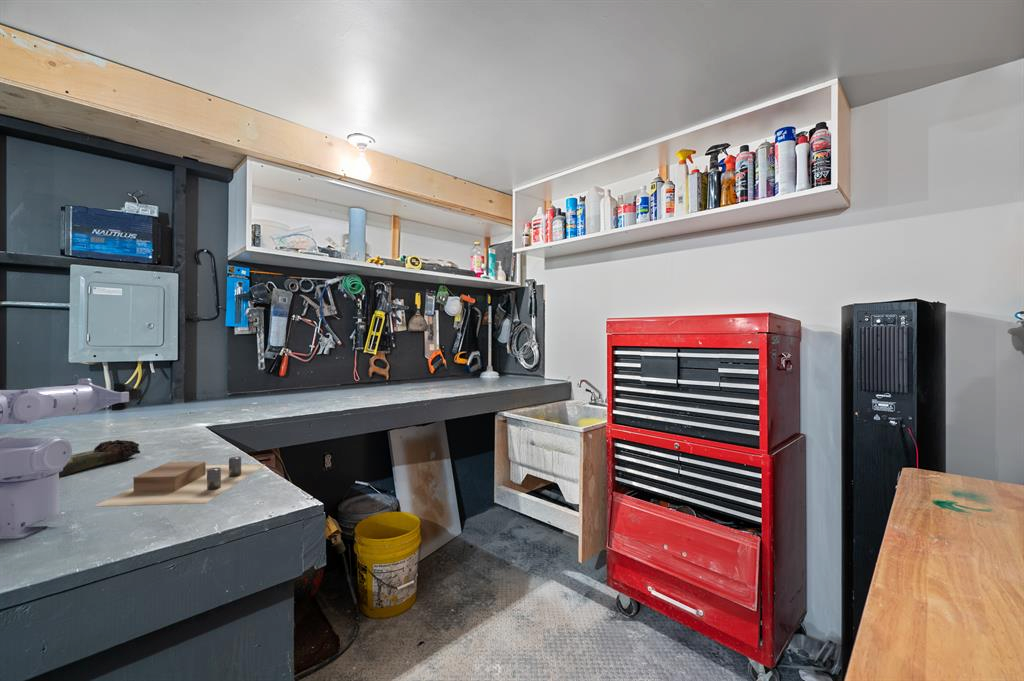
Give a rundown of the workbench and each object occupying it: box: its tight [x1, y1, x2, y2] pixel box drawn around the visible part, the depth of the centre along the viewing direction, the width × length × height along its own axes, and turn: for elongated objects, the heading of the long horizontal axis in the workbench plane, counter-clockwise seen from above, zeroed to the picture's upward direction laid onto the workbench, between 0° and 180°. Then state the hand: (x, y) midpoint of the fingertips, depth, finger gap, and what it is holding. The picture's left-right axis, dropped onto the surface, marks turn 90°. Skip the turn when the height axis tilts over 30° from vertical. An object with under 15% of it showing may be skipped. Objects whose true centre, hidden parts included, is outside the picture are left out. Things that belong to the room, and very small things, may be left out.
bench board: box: [92, 456, 266, 508], centre depth 93 cm, size 24×20×6 cm
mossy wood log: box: [59, 439, 141, 478], centre depth 109 cm, size 18×7×6 cm, turn 162°
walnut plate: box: [133, 461, 206, 492], centre depth 93 cm, size 10×8×3 cm
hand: (121, 394), depth 95 cm, fingers open, 7 cm apart
